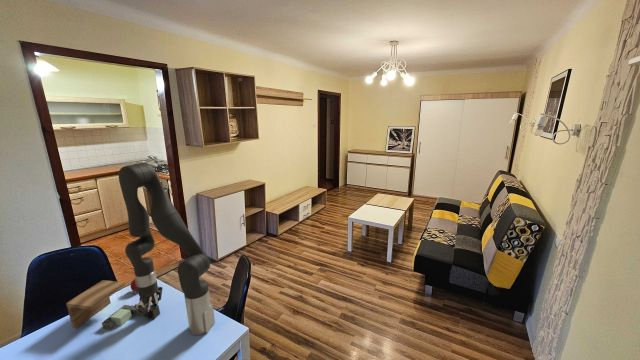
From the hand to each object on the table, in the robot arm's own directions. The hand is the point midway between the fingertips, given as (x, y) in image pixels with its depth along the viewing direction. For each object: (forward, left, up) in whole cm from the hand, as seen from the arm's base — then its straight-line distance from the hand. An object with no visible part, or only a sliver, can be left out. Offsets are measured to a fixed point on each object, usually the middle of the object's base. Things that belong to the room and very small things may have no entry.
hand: (152, 314), depth 119 cm
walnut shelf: (+22, +4, -1) cm, 22 cm away
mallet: (+6, +4, -1) cm, 8 cm away
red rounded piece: (+20, -14, -1) cm, 25 cm away
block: (+11, +5, -1) cm, 12 cm away
